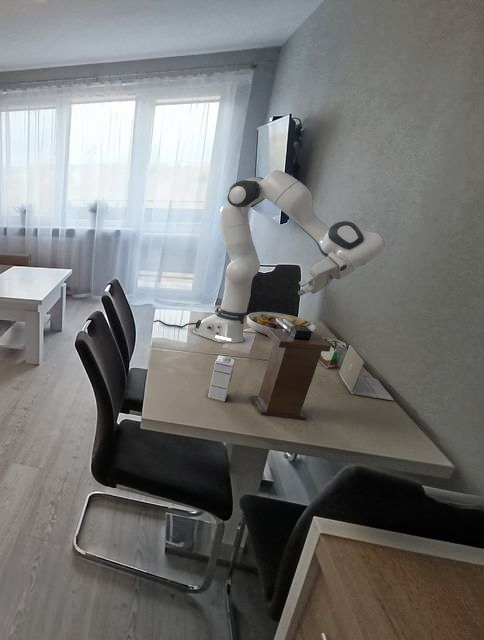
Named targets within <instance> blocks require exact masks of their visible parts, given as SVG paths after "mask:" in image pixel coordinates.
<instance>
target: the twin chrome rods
mask: <svg viewBox="0 0 484 640" xmlns="http://www.w3.org/2000/svg"><path fill="white" fill-rule="evenodd" d="M276 321H277V322H278V323H279V324H280V325H281V326H282V327H283V328H284V329H286V330H287V331H288V332H289V335H290V336H291V337H292V338H293V339H297V340H310V337H311V334H312V331H311V330H310V329H308V328H307V327H298V326H294V325H293V324H292V323H291V322H289V321H288V320H287V319H283V321H284V322H285V323H286V324H287V325H288V326H289V327H290V328H289V327H288V326H287V325H286V324H285V323H284V322H283V321H281V320H280V319H279V318H276Z"/></svg>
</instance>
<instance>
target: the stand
mask: <svg viewBox="0 0 484 640" xmlns="http://www.w3.org/2000/svg"><path fill="white" fill-rule="evenodd" d="M266 334H267V335H266V336H267V337H268V338H269V339H270V340H271V341H272V342H273V346H272V349H271V351H270V355H269V359H268V361H267V365H266V368H265V372H264V376H263V380H262V382H261V385H260V389H259V393H258V395H251V397H250V400H251V402H252V403H253V404H254V406H255V407H256V409H257V411H258V412H259V414H260V415H262V416H269V417H277V418H285V419H292V420H293V419H294V420H301V421H305V419H306V416H305V414H304V413H303V412H302V410H303V407H304V404H305V401H306V398H307V394H308V392H309V389H310V388H311V387H310V386H311V384H312V381H313V378H314V375H315V372H316V369H317V366H318V364H319V362H320V361H319V358H320V355H321V352H322V351H325V352H329V351H330V348H331V345H330V344H328V343H327V342H326V341H324V340H323V337H321V336H320V335H318V334H317V333H316V332H315V331H314V332H312V334H311V337H310V340H297V339H293V338H292V337H291V336H290V335H289V332H288V331H287V330H284V329H272V328H267V331H266Z"/></svg>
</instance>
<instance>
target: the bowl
mask: <svg viewBox="0 0 484 640" xmlns="http://www.w3.org/2000/svg"><path fill="white" fill-rule="evenodd" d="M276 318H279V319H280V320H281V321H283V319H287V320H288V321H289V322H291V323H292V324H293V325H294V326H298V327H307V328H308V329H310V330H311V331H312V332H314V333H315V332H316V329H317V327H316V325H315V324H314V323H312V322H311V321H308V320H307V319H304V318H301V317H297V316H295V315H290V314H285V313H279V312H271V311H269V312H268V311H255V312H251V313H249V314H247V317H246V323H247V325H248V326H249V328H251V329H252V330H254V331H255V332H257V333H260V334H263V335H266V336H268V335H267V334H266V331H267V328H272V329H284V328H283V327H282V326H281V325H280V324H279V323H278V322H277V321H276ZM283 322H284V321H283ZM284 323H285V322H284ZM285 324H286V323H285ZM286 325H287V324H286ZM287 326H288V325H287ZM288 327H289V326H288ZM289 328H290V327H289ZM284 330H286V329H284Z"/></svg>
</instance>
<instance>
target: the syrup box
mask: <svg viewBox="0 0 484 640" xmlns="http://www.w3.org/2000/svg"><path fill="white" fill-rule="evenodd" d="M235 363H236V358H233V357H229V356H225V355H218V356H217V357H216V359H215V362H214V366H213V371H212V375H211V380H210V384H209V389H208V394H207V398H210V399H212V400H215V401H220V402H225V401H226V399H227V397H228V393H229V389H230V386H231V385H230V384H231V380H232V377H233V372H234V367H235Z"/></svg>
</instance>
